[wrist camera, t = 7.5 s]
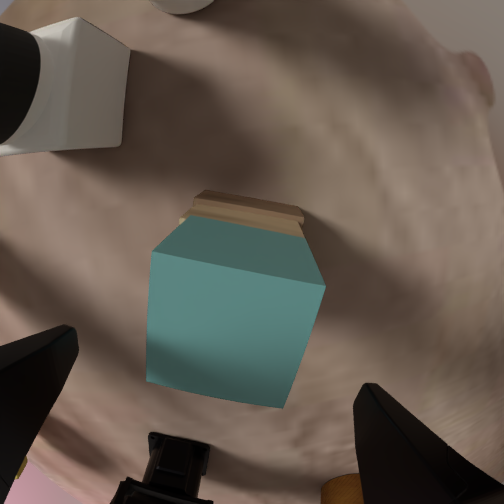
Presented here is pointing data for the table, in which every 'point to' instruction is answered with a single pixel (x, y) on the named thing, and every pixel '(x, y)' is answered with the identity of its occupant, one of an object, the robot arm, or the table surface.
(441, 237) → the table surface
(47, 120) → the medicine bottle
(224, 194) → the tower base
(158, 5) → the white cylinder
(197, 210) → the tower top
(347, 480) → the disposable coffee cup
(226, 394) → the teal block
